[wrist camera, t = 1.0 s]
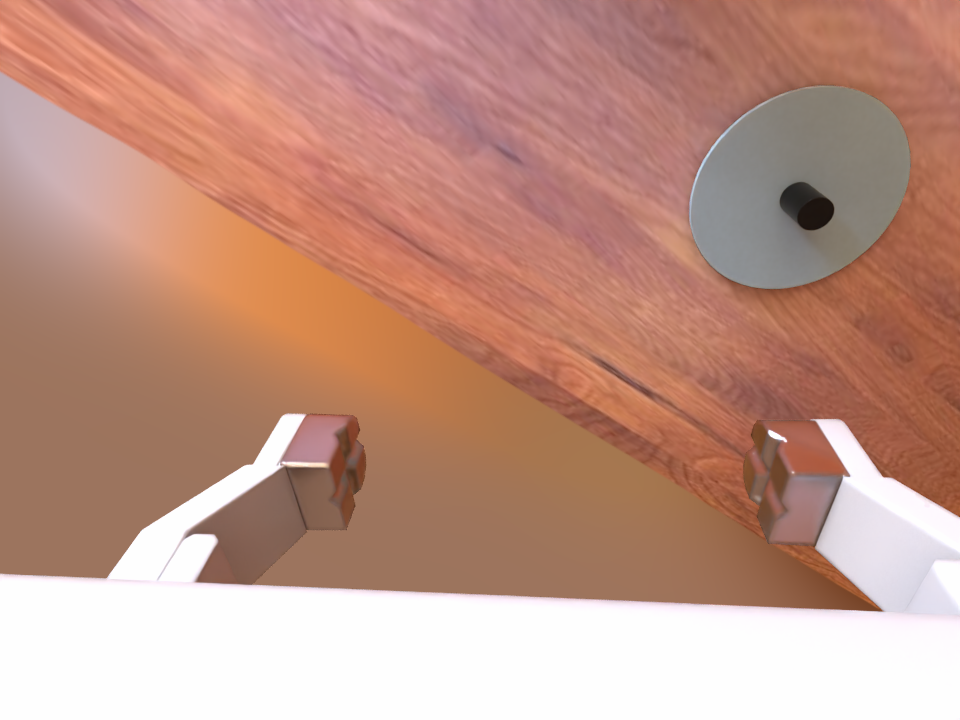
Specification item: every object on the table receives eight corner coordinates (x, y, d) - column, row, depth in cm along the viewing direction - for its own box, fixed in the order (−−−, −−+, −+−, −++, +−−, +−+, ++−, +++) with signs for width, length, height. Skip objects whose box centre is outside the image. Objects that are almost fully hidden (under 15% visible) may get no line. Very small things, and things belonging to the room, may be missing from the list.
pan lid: (737, 62, 43) (759, 71, 39) (949, 108, 43) (994, 123, 39) (659, 263, 52) (670, 288, 48) (834, 299, 53) (861, 328, 48)
